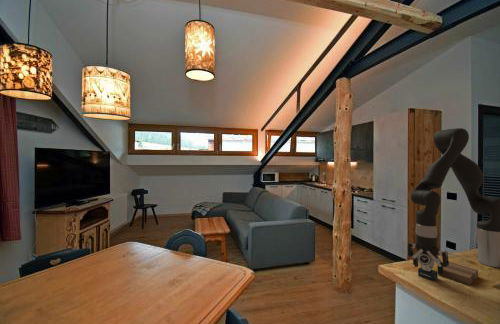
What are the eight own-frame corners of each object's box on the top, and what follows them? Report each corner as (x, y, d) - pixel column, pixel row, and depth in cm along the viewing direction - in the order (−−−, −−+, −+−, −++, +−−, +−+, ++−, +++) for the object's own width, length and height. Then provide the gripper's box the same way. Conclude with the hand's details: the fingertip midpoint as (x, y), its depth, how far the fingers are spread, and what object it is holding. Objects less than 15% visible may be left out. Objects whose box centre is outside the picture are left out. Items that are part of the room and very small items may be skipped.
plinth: (448, 267, 104) (448, 261, 104) (478, 276, 95) (477, 270, 95) (438, 275, 98) (438, 268, 98) (469, 285, 89) (469, 278, 89)
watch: (416, 277, 97) (415, 252, 97) (424, 272, 101) (423, 248, 101) (431, 282, 92) (430, 257, 92) (439, 277, 96) (438, 252, 96)
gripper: (450, 236, 92) (451, 274, 92) (411, 228, 104) (413, 262, 104) (443, 240, 88) (444, 279, 88) (404, 231, 100) (405, 266, 100)
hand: (427, 270), depth 96 cm, fingers open, 8 cm apart
